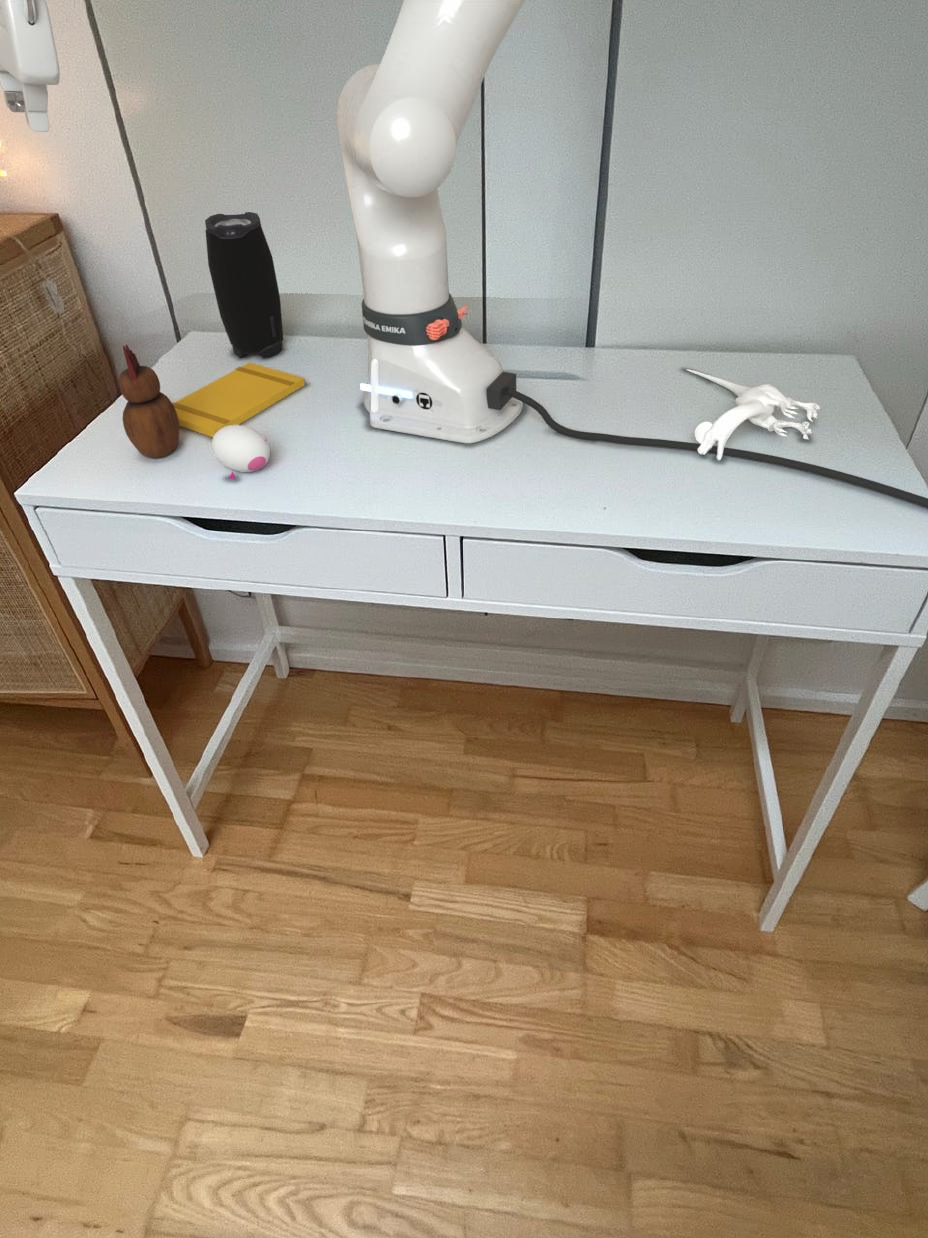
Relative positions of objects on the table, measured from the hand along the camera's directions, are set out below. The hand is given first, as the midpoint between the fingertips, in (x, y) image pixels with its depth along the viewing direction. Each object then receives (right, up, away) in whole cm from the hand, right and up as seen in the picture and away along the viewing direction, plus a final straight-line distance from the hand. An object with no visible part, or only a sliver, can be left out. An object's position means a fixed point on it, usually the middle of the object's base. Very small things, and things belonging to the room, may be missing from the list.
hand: (27, 120), depth 86 cm
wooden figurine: (+6, -30, +22) cm, 38 cm away
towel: (+13, -21, +32) cm, 40 cm away
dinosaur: (+80, -26, +23) cm, 87 cm away
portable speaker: (+13, -9, +46) cm, 48 cm away
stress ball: (+18, -33, +19) cm, 42 cm away
